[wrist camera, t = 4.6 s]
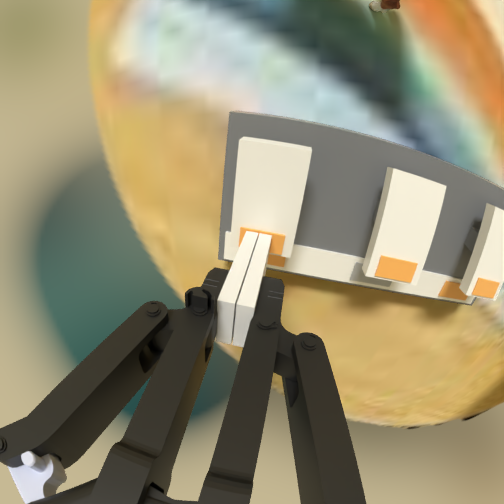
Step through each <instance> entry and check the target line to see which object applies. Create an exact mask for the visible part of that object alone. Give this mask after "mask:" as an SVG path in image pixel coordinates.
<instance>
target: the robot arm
mask: <svg viewBox="0 0 504 504" xmlns="http://www.w3.org/2000/svg"><path fill="white" fill-rule="evenodd" d="M271 238H272V235H267V234H261V233H260V234H259V237H258V233H256V232H250V231H246V233H245V235H244V237H243V240H242V242H241V245H240V247H239V249H238V252H237V254H236V256H235V259H234V261H233V263H232V266H231V268H230V270H225V269H220V268H214V269H212V270H211V271H210V272H208V274H207V276H206V278H205V280H204V282H203V284H202V286H201V287H194V288H191V289H189V290H188V291H187V292H186V293H185V305H186V307H185V308H184V309H177V310H168V309H167V307H166V306H165V305H164V304H163V303H162V302H158V301H150V302H147V303H145V304H144V305H142V306H141V307H140V308H139V309H138V310H137V311H135V312H134V313H133V314H132V315H131V316H130V317H129V318H128V319H127V320H126V321H125V322H123V323H122V324H121V325H120V326H119V327H118V328H117V329H116V330H115V331H114V332H113V333H112V334H110V335H109V336H108V337H107V338H106V339H105V340H104V341H103V342H102V343H101V344H100V345H99V346H98V347H97V348H96V349H95V350H94V351H92V352H91V353H90V354H89V355H88V356H87V357H86V358H85V359H84V360H83V361H82V362H81V363H80V364H79V365H78V366H77V367H76V368H75V369H74V370H73V371H72V372H71V373H70V374H69V375H68V376H67V377H66V378H65V379H64V380H63V381H61V382H60V383H59V384H58V385H57V386H56V387H55V388H54V389H53V390H52V391H51V393H50V394H49V395H47V396H46V398H45V399H44V400H43V401H42V402H41V403H40V404H39V405H38V406H37V407H36V408H35V409H34V410H33V411H32V412H31V413H30V414H29V415H28V416H27V417H25V418H23V419H20V420H18V421H16V422H14V423H12V424H9V425H7V426H5V427H3V428H0V462H2V463H3V464H5V465H7V466H8V468H9V470H10V473H11V475H12V477H13V480H14V482H15V484H16V486H17V488H18V491H19V492H20V495H21V497H22V499H23V501H24V502H25V504H249V503H250V498H251V494H252V488H253V477H254V472H255V468H256V463H257V458H258V453H259V448H260V443H261V438H262V433H263V427H264V422H265V417H266V411H267V406H268V400H269V394H270V389H271V383H272V377H273V372H274V373H276V374H278V375H280V376H282V381H283V387H284V393H285V399H286V406H287V412H288V419H289V425H290V432H291V438H292V446H293V453H294V459H295V466H296V472H297V479H298V487H299V494H300V500H301V504H366V501H365V496H364V491H363V487H362V482H361V478H360V474H359V469H358V466H357V461H356V457H355V453H354V449H353V445H352V441H351V437H350V434H349V430H348V426H347V422H346V418H345V415H344V411H343V407H342V404H341V400H340V396H339V393H338V389H337V386H336V382H335V379H334V376H333V372H332V369H331V365H330V362H329V359H328V355H327V352H326V349H325V346H324V343H323V341H322V339H321V338H320V337H318V336H317V335H315V334H313V333H307V332H305V333H301V334H299V335H297V336H296V335H294V334H292V333H290V332H288V331H287V330H286V329H284V327H283V326H282V324H281V322H280V317H281V310H282V302H283V295H284V287H285V286H284V284H283V282H282V280H281V279H276V278H270V277H265V273H266V268H267V262H268V256H269V250H270V244H271ZM215 337H216V341H217V342H222V343H226V344H231V343H232V339H233V345H235V346H240V347H243V351H242V354H241V358H240V362H239V365H238V369H237V373H236V377H235V380H234V384H233V387H232V391H231V395H230V398H229V402H228V405H227V409H226V412H225V416H224V420H223V423H222V427H221V430H220V434H219V437H218V441H217V444H216V448H215V451H214V455H213V458H212V461H211V465H210V468H209V471H208V473H207V475H206V478H205V480H204V483H203V487H202V490H201V493H200V497H199V500H198V502H197V501H182V500H174V499H171V498H169V497H167V496H166V495H167V492H168V489H169V486H170V482H171V473H172V469H173V466H174V463H175V459H176V457H177V454H178V451H179V448H180V445H181V442H182V439H183V436H184V433H185V430H186V427H187V424H188V421H189V418H190V415H191V413H192V410H193V407H194V404H195V401H196V398H197V395H198V392H199V389H200V386H201V383H202V380H203V377H204V375H205V372H206V369H207V366H208V363H209V360H210V357H211V354H212V351H213V342H214V340H215ZM151 375H152V376H151ZM150 376H151V378H150V380H149V382H148V384H147V386H146V389H145V391H144V393H143V395H142V397H141V399H140V401H139V404H138V406H137V408H136V410H135V412H134V414H133V417H132V419H131V421H130V423H129V425H128V428H127V430H126V432H125V435H124V436H123V438H122V440H121V441H120V442H117V443H115V444H114V445H113V446H112V448H111V449H110V451H109V453H108V456H107V458H106V460H105V462H104V465H103V467H102V469H101V472H100V474H99V476H98V478H96V479H93V480H91V481H89V482H86V483H84V484H81V485H79V486H76V487H74V488H71V489H69V490H66V491H63V492H60V493H58V494H56V490H57V488H58V487H59V486H60V485H61V484H62V483H64V482H65V481H66V479H67V476H66V474H65V471H64V469H66V468H68V467H70V466H71V465H72V464H73V463H75V462H76V461H78V459H79V458H80V457H81V456H82V455H83V454H84V453H85V452H86V451H87V449H89V448H90V446H91V445H92V444H93V443H94V442H95V441H96V439H97V438H98V437H99V436H100V435H101V434H102V432H103V431H104V430H105V429H106V428H107V427H108V425H109V424H110V423H111V422H112V421H113V420H114V418H115V417H116V416H117V415H118V414H119V413H120V411H121V410H122V409H123V408H124V407H125V406H126V404H127V403H128V402H129V401H130V400H131V398H132V397H133V396H134V395H135V394H136V393H137V392H138V390H139V389H140V388H141V387H142V386H143V385H144V383H145V382H146V381H147V380H148V379H149V377H150Z"/></svg>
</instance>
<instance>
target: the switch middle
mask: <svg viewBox="0 0 504 504" xmlns="http://www.w3.org/2000/svg"><path fill="white" fill-rule="evenodd" d="M445 191H446V186H445V185H442V184H440V183H437V182H434V181H431V180H428V179H426V178H423V177H420V176H417V175H414V174H411V173H407V172H404V171H401V170H398V169H394V168H390V167H387V172H386V176H385V181H384V186H383V191H382V195H381V199H380V204H379V208H378V212H377V216H376V220H375V224H374V228H373V231H372V235H371V239H370V242H369V246H368V249H367V253H366V256H365V259H364V263H363V266H362V270H363V272H364V274H365V276H367V277H373V278H378V279H383V280H388V281H394V282H399V283H404V284H410V285H415V286H416V285H417V283H418V280H419V277H420V275H421V272H422V269H423V267H424V264H425V261H426V258H427V255H428V252H429V249H430V246H431V243H432V240H433V236H434V233H435V230H436V226H437V223H438V219H439V215H440V212H441V208H442V204H443V200H444V195H445Z"/></svg>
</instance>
